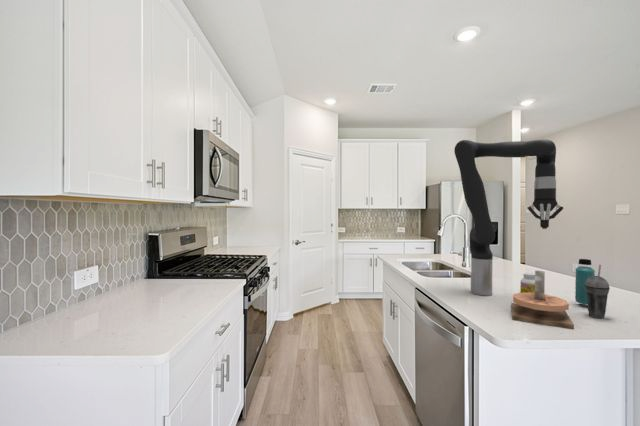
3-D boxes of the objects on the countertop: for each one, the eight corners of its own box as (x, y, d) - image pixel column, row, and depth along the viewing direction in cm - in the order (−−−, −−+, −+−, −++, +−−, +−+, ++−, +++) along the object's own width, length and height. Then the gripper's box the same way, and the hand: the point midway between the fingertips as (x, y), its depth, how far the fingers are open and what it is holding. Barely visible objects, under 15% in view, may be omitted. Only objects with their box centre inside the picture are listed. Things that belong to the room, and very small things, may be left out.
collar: (514, 306, 116) (514, 301, 116) (512, 295, 131) (512, 290, 131) (572, 314, 107) (572, 308, 107) (563, 301, 122) (563, 296, 122)
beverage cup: (579, 313, 122) (579, 263, 122) (595, 312, 123) (596, 262, 123) (597, 320, 115) (597, 266, 115) (614, 319, 116) (615, 266, 115)
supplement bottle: (516, 301, 138) (517, 272, 138) (525, 299, 141) (525, 271, 141) (533, 305, 132) (533, 275, 132) (541, 303, 135) (542, 274, 135)
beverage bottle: (598, 308, 128) (599, 260, 127) (580, 307, 129) (581, 260, 129) (588, 304, 134) (589, 258, 134) (571, 303, 136) (571, 257, 135)
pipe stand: (512, 319, 116) (513, 273, 116) (511, 306, 131) (511, 265, 131) (573, 329, 107) (574, 278, 106) (564, 313, 122) (565, 269, 122)
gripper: (526, 188, 131) (526, 228, 132) (566, 186, 125) (565, 229, 125) (525, 188, 138) (525, 227, 138) (563, 187, 131) (562, 228, 132)
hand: (544, 228), depth 132 cm, fingers closed
